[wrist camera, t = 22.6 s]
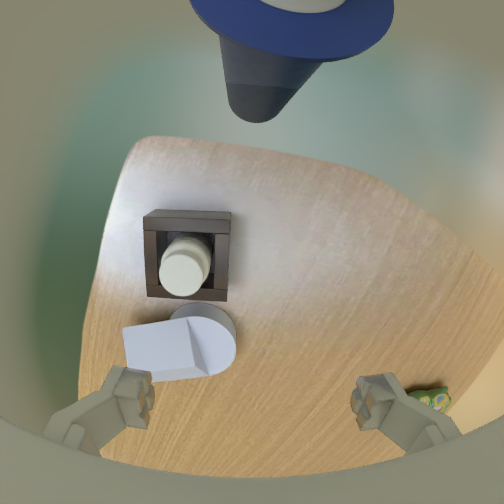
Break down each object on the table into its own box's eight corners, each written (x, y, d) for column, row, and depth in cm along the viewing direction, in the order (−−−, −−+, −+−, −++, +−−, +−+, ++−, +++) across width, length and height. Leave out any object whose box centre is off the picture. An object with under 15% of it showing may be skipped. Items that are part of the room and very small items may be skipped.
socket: (155, 209, 31) (142, 216, 27) (231, 212, 32) (230, 219, 27) (157, 280, 34) (146, 296, 29) (227, 284, 34) (226, 301, 30)
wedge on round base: (154, 367, 38) (243, 354, 37) (144, 399, 31) (244, 388, 31) (130, 314, 35) (226, 296, 35) (112, 343, 28) (223, 325, 28)
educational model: (428, 418, 46) (438, 434, 41) (369, 430, 45) (377, 450, 40) (454, 374, 43) (468, 390, 38) (393, 385, 41) (406, 406, 36)
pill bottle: (199, 275, 34) (188, 310, 26) (165, 252, 33) (144, 281, 25) (222, 243, 33) (217, 270, 25) (187, 219, 32) (171, 239, 24)
